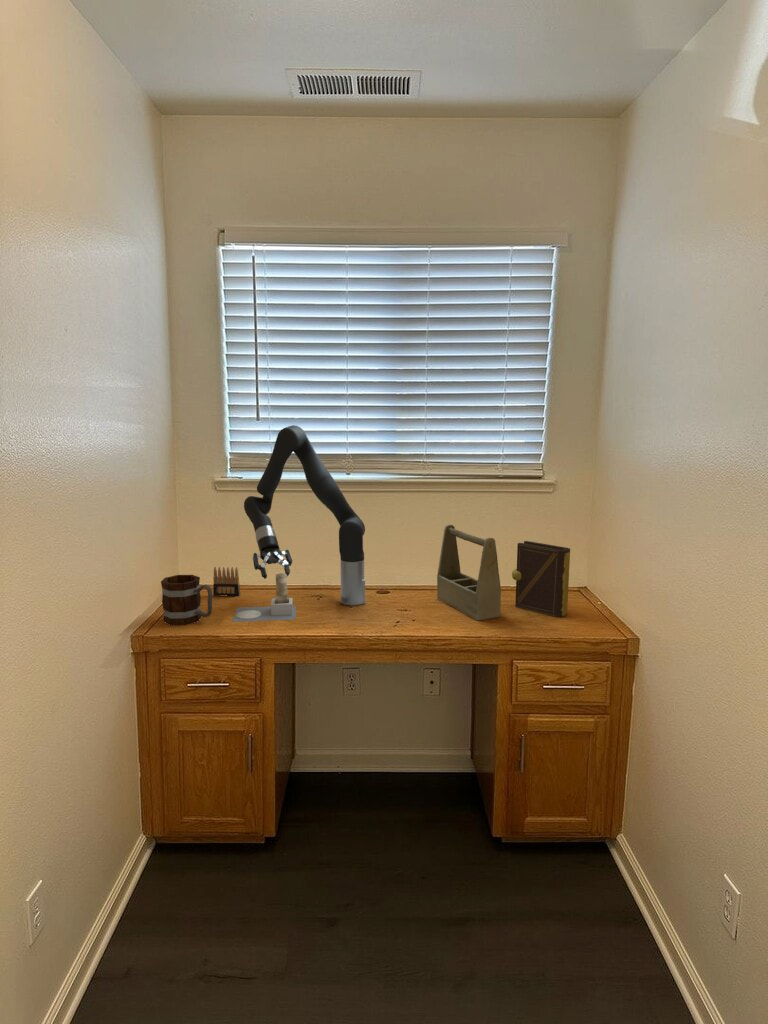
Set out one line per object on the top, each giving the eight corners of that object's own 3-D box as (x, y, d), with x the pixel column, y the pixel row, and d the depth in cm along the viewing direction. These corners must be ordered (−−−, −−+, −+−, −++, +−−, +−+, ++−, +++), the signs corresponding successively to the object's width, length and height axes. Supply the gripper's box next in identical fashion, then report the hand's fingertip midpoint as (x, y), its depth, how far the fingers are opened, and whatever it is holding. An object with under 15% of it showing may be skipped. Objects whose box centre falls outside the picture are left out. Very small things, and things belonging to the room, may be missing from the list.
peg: (287, 609, 245) (286, 573, 242) (287, 613, 241) (286, 576, 238) (276, 610, 244) (275, 573, 242) (276, 613, 240) (275, 576, 238)
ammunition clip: (240, 595, 268) (239, 566, 266) (239, 596, 266) (238, 567, 264) (214, 594, 269) (213, 566, 267) (213, 596, 267) (211, 567, 265)
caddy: (436, 599, 263) (437, 525, 258) (459, 595, 267) (460, 523, 262) (476, 621, 237) (478, 539, 232) (501, 617, 241) (503, 537, 236)
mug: (154, 623, 235) (152, 582, 232) (178, 611, 247) (176, 573, 245) (201, 629, 228) (199, 588, 226) (223, 617, 241) (222, 577, 238)
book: (570, 613, 245) (573, 548, 241) (559, 619, 239) (562, 552, 235) (518, 601, 260) (521, 539, 256) (507, 606, 254) (509, 542, 250)
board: (296, 609, 250) (295, 595, 249) (295, 623, 235) (295, 608, 234) (237, 611, 248) (236, 597, 247) (232, 625, 232) (232, 610, 231)
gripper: (250, 536, 247) (260, 573, 239) (286, 533, 253) (297, 568, 245) (247, 547, 253) (256, 583, 245) (282, 543, 259) (293, 579, 251)
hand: (276, 576), depth 245 cm, fingers open, 8 cm apart
